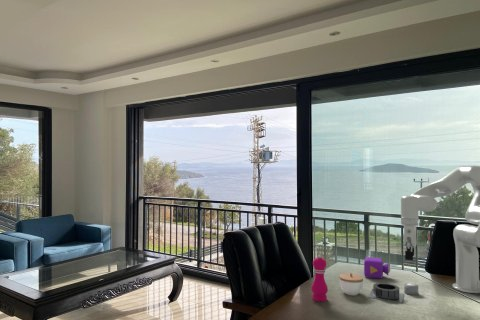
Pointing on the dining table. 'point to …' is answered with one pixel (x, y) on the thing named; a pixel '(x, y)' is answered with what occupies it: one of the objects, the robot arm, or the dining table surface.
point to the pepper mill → (319, 280)
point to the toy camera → (375, 268)
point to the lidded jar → (351, 283)
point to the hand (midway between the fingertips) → (409, 257)
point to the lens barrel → (386, 292)
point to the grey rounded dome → (411, 289)
